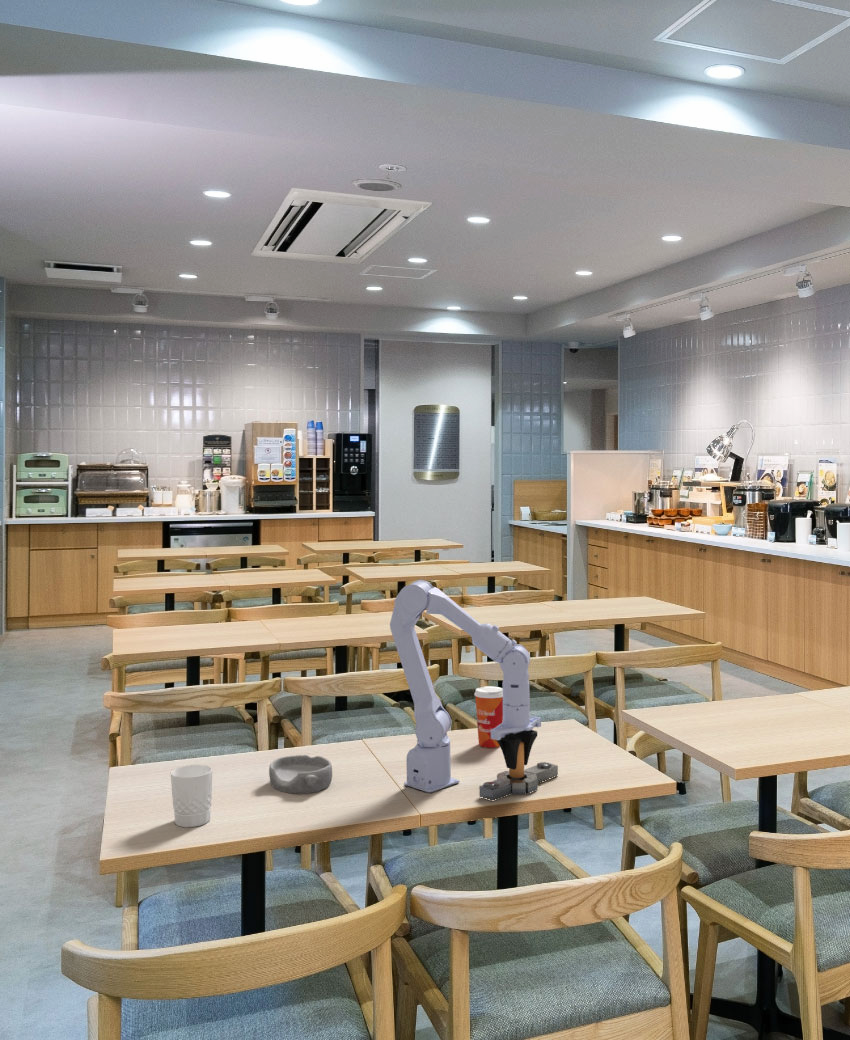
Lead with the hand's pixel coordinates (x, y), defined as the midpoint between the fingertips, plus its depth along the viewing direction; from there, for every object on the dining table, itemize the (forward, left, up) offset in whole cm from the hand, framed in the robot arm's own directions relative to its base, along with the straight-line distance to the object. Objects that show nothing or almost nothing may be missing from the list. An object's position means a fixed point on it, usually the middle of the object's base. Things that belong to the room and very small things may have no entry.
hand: (516, 766), depth 194 cm
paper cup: (+20, +25, -5) cm, 32 cm away
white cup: (-58, +34, -5) cm, 67 cm away
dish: (-30, +36, -5) cm, 47 cm away
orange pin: (0, 0, -2) cm, 2 cm away
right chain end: (+4, 0, -5) cm, 6 cm away
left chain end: (-3, 0, -5) cm, 5 cm away
